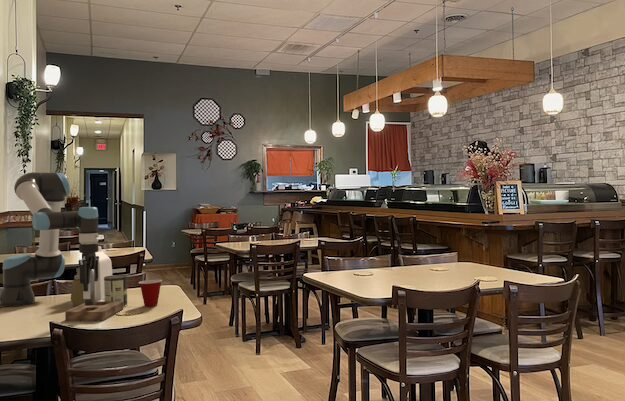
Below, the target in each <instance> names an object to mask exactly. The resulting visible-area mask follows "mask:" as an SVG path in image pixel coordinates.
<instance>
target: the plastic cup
mask: <svg viewBox="0 0 625 401" xmlns="http://www.w3.org/2000/svg"><path fill="white" fill-rule="evenodd" d="M162 281H163V279H148V280H142V281H139V282H138V284H139V286H140V291H141V295H142V299H143V300H142V301H143V304H144V307H147V308H151V307H156V306H158V303H159V296H160V290H161V285H162Z"/></svg>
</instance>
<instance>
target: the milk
mask: <svg viewBox="0 0 625 401" xmlns="http://www.w3.org/2000/svg"><path fill="white" fill-rule="evenodd" d="M95 254H96V256H99V261H98V281H96V296H95V301H102V300H105V294H104V277H106V276H112V275H113V266H112V265H113V264H112V260H111V258H110V257H109V256H108V255H107V254H106V253H105V252H104V251H103V248H102V246H101V245H100V246H99V245H98V252H95Z"/></svg>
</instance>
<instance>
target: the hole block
mask: <svg viewBox="0 0 625 401" xmlns="http://www.w3.org/2000/svg"><path fill="white" fill-rule="evenodd" d="M122 310H123V311H124V307H123V302H121V301H105V300H103V301H102V300H95V305H91V306H85V303H84V304H81V305H79V306H74V307H72V308H70V309H68V310H66V311H64V314H65V318H64V321H65V322H104V321H106V320H108V319H110V318H111V317H113V316H115V315H117V314H118V312H119V313H121V312H123V311H122ZM120 311H121V312H120ZM116 313H117V314H116Z"/></svg>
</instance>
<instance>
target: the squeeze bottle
mask: <svg viewBox="0 0 625 401" xmlns="http://www.w3.org/2000/svg"><path fill="white" fill-rule="evenodd" d="M70 293H71V294H70V301H71V303H72V306H73V307H77V306H79V305H81V304H84V303H85V299H83V284H81V283H80V271H79V267H78V268H77V272H76V274H75V275H74V279H73V280H72V282H71V291H70Z"/></svg>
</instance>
